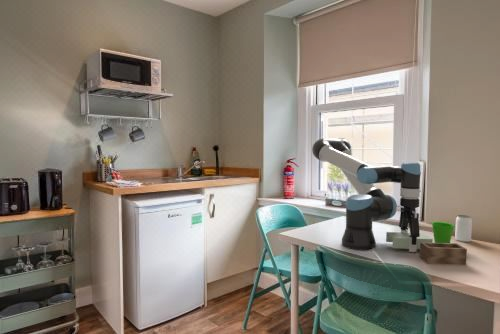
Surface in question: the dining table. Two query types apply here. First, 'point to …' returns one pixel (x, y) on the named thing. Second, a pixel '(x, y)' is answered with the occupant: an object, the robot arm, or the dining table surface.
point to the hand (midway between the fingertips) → (408, 247)
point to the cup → (442, 232)
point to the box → (443, 253)
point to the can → (463, 228)
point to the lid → (405, 239)
